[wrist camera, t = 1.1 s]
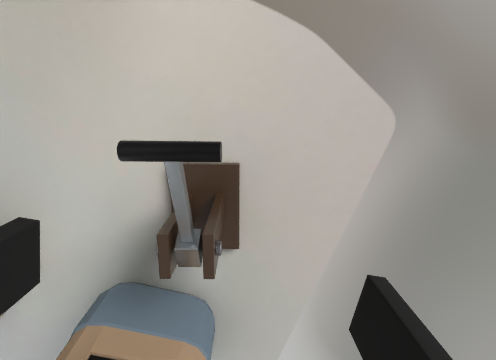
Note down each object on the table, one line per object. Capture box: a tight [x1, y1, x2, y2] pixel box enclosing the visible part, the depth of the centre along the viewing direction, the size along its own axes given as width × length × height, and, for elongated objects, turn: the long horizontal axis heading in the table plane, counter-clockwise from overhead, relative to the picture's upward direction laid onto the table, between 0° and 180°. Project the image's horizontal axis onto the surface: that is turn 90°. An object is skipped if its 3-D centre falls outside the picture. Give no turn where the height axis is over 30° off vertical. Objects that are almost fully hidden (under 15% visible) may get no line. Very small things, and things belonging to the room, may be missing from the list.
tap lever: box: [117, 141, 222, 267], centre depth 23 cm, size 13×7×2 cm, turn 179°
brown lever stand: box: [156, 162, 239, 279], centre depth 31 cm, size 12×9×14 cm
